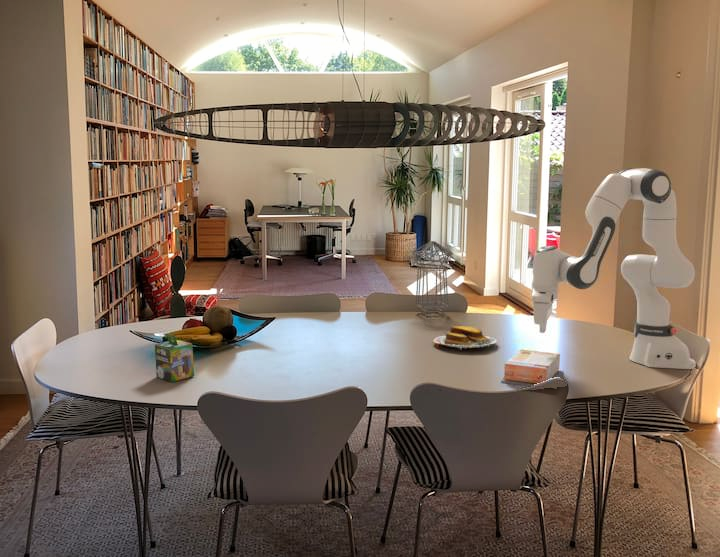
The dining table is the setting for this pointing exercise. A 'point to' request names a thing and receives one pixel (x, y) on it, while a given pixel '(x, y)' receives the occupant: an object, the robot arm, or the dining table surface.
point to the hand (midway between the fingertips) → (542, 331)
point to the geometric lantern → (438, 246)
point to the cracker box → (532, 366)
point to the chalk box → (174, 360)
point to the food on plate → (464, 338)
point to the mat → (557, 374)
